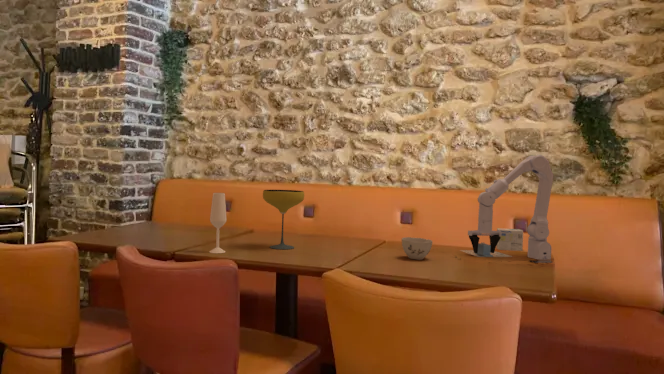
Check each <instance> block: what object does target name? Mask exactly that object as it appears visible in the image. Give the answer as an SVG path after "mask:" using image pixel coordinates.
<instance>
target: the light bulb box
mask: <svg viewBox="0 0 664 374" xmlns="http://www.w3.org/2000/svg"><path fill="white" fill-rule="evenodd" d="M496 231H502V235H501V236H500V240H499V242H498V243H497V245H496V249H497V250H498V251H514V252H523V246H524V230H523V229H520V228H499V227H498V228H496Z"/></svg>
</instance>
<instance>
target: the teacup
mask: <svg viewBox="0 0 664 374" xmlns="http://www.w3.org/2000/svg"><path fill="white" fill-rule="evenodd" d="M401 246H402V249H403V252H404V253H405V255H406V256H407V257H408V259H411V260H420V261H421V260H423V259H424V258H426V257H427V255H428V254H429V253H430V252H431V250H432V246H433V240H432V239H429V238H428V239H427V238H422V237H409V236H408V237H407V236H406V237H402V238H401Z"/></svg>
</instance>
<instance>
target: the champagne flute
mask: <svg viewBox="0 0 664 374" xmlns="http://www.w3.org/2000/svg"><path fill="white" fill-rule="evenodd" d="M210 208H211V209H210V215H209V221H210V224H211V225H212V226H213V227H214V228H216V234H215V236H216V237H215V239H216V244H215V247H214V248H212V249H211V250H209V253H211V254H224V253H226V250H224V249H222V248H221V247H220V229H221V228H222V227H224V225H225V224H226V223H227V219H228V218H227V206H226V194H225V192H213V193H212V198H211V206H210Z"/></svg>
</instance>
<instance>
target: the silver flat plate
mask: <svg viewBox="0 0 664 374" xmlns="http://www.w3.org/2000/svg"><path fill="white" fill-rule="evenodd" d="M459 251H460V252H463V253H466V254H468V255H472V256H474V257H477V258H486V257H485V256H481V255H478V254H476V253H474V251H473V249H469V250H467V249H464V250H463V249H460V250H459ZM490 255H493V257H492V258H513V257H514V256H512V255H509V254H506V253H502V252H499V251H496V250H495V251H494V253H491V252H490Z"/></svg>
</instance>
